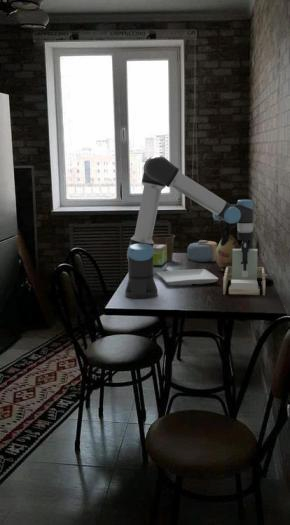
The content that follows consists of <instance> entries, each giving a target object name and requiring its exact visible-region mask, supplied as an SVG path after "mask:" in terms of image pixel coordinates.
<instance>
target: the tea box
mask: <svg viewBox="0 0 290 525" xmlns="http://www.w3.org/2000/svg"><path fill="white" fill-rule="evenodd" d="M153 252H154V254H153V272H154V274H157V273H156V272H162V271H167V269H168V262H167V245H157V244H154V245H153ZM157 275H158V274H157Z"/></svg>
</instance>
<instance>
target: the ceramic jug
mask: <svg viewBox="0 0 290 525" xmlns="http://www.w3.org/2000/svg"><path fill="white" fill-rule="evenodd" d="M223 223H225V225H224V226H223ZM237 223H238V222H236V223H228V222H226V221H224V220H220V221H219V220H218V229H219V232H220V235H221V239H220V241H219V243H217V249H216V253H215V260H216V261H215V263H216V264H217V265H218V266H219V268H220V270H221V272H225V270H226V267H232V250H233V249H242V248H241V245H240V244H239V243H238V241H237V239H236V237H234V236H233V233H232V229H233V228H235V227H236V226H237Z"/></svg>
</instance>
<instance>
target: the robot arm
mask: <svg viewBox="0 0 290 525" xmlns="http://www.w3.org/2000/svg"><path fill="white" fill-rule="evenodd" d="M141 184H142V186H143V190H142V194H141V201H140V206H139V209H138V215H137V220H136V225H135V226H136V227H135V231H134V234H133V236H132V237H130V241H129V245H128V247H127V250H126V257H127V261H128V262H127V263H128V266H127V267H128V268H127V269H128V280H127V283H126V286H125V291H124V293H125V294H124V295H125V297H126V298H129V299H142V300H144V299H151V298H155V297H157V296H158V288H157V285H156V281H155V278H154V277H155V276H154V274H155V273H154V272H153V254H154V252H153V245H154V242H153V240H152V235H154V229H155V225H156V219H157V215H158V209H159V205H160V201H161V195H162V191H163V189H165V188H166V187H167V188H173V189H174V190H176V191H177V192H179V193H180V194H183V195H184V196H186V197H187V198H189V199H191V201H194V202H195V203H197V204H198V205H199V206H201V207H203V208H204V209H206V210H208V211H209V212H211V213H212V218H213V220H214V221H218V222H219V221H220V220H224V221H226V222H228V223H237V225H236V226H237V235H236V236H237V239H236V240H238V241H242V242H241V243H240V248H241V249H242V262H241V264H242V277H248V264H247V263H248V261H247V259H248V252H249V249H250V243H249V241H252V240H253V239H254V232H253V230H254V227H255V224H254V201H253V200H252V199H238V200H237V203H236V204H230V202H227V201H226V200H224V199H222V198H221V197H219V195H217V194H215V193H214V192H212V191H210V190H208V189H207V188H206V187H204V186H202V185H201V184H199V183H198V182H196V181H194V180H193V179H191V178H190V177H189V176H187V175H185V174H184V173H182V172H181V170H180V168H179V167H177V166H176V165H174V164H173V163H172V162H171V161H169V159H167V158H166V157H164V156H163V155H162V156H161V155H154V156H151V157H149V158H148V159H147V160H146V161H145V163H144V164H143V174H142V179H141ZM226 222H225V223H226Z"/></svg>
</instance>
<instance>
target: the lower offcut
mask: <svg viewBox="0 0 290 525" xmlns="http://www.w3.org/2000/svg"><path fill="white" fill-rule="evenodd" d="M260 290H261V289H260V286H259V285H258V289H231V284H230V285H229V286H228V294H229V295H250V296H251V295H254V296H260Z"/></svg>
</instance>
